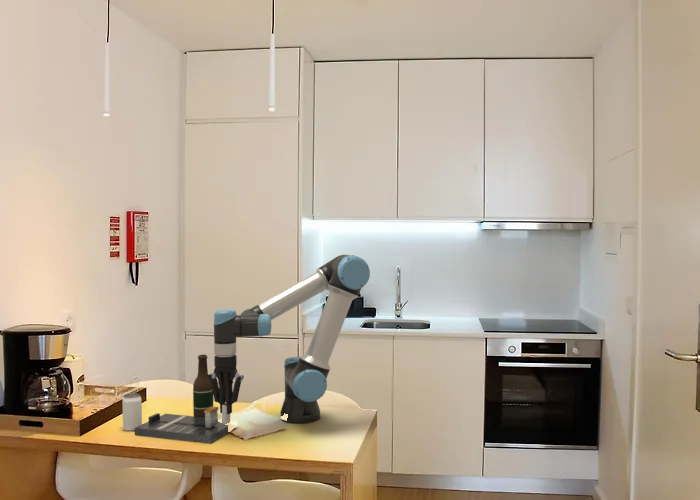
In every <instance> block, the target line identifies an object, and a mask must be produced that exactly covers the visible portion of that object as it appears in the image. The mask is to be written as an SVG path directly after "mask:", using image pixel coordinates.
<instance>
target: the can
mask: <svg viewBox="0 0 700 500" xmlns="http://www.w3.org/2000/svg"><path fill="white" fill-rule="evenodd" d="M142 401H143V399H142V397H141V394H140V393H137V392H136V393H133V392H132V393H126V394H125V395H123V398H122V428H123V430H124V431H126V432H135V428H136V427H138V426H140V425H142V424H143V413H142V412H143V407H142Z"/></svg>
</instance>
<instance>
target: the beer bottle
mask: <svg viewBox="0 0 700 500" xmlns="http://www.w3.org/2000/svg"><path fill="white" fill-rule="evenodd" d="M197 359H198V365H197V367H198V368H197V376H196V378H195V379H194V381H193V388H192V401H193V402H192V406H193V411H192V412H193V413H192V414H193V416H195V417H205V413H204V410H206V409H208V408H210V407H212V406H214V395H213V391H212V386H211V382H210V380H209V378H208V375H209V371H208V355H207V354H199V355H198V356H197Z"/></svg>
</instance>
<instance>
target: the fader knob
mask: <svg viewBox="0 0 700 500" xmlns="http://www.w3.org/2000/svg"><path fill="white" fill-rule="evenodd" d="M218 410H219V407H218V406H214V405H213V406H212V407H210V408H208V409H206V410H204V413H205V427H208V428H211V427H213V426H214V425H216V424H218V419H219V418H218V414H219V413H218Z"/></svg>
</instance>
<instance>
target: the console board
mask: <svg viewBox="0 0 700 500" xmlns="http://www.w3.org/2000/svg"><path fill="white" fill-rule="evenodd" d="M147 418H148V421H146V422H145V423H142V425H140V426H138V427H136V428H135V431H134V435H135V436H140V437H141V436H142V437H147V438H157V439H167V440H175V441H183V442H193V443H194V442H195V443H202V444H209V445H210V444H213V443H215V442H216V441H218V440H220V439H221V438H222V437H224V436H225V435H228V434H229V433H228V425H225V424H222V423H220V422H218V424H216V425H214V426H213V427H211V428H208V427H205V417H195V416H194V415H183V414H172V413H164V414H162V415H161V413H158V412H157V413H154V414H153V415H150V416H148V417H147Z"/></svg>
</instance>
